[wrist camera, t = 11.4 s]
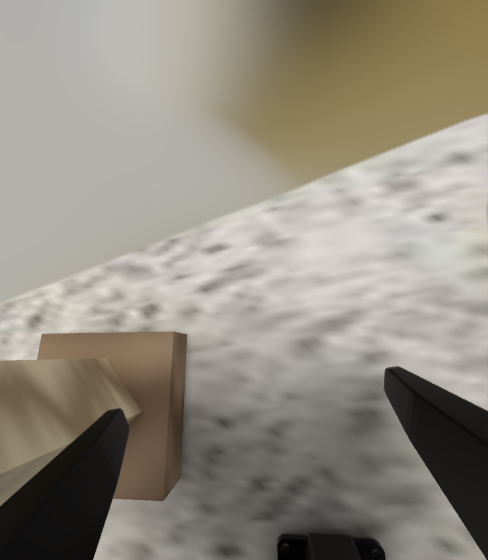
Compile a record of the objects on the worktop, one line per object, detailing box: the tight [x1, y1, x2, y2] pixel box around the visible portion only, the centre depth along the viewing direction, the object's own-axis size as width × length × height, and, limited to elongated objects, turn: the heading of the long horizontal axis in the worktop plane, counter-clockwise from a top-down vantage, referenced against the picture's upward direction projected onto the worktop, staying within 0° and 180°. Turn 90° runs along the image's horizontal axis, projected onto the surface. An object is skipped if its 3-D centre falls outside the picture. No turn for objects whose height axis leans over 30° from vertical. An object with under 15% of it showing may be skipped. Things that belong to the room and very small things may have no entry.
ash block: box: [0, 358, 142, 506], centre depth 12 cm, size 4×6×12 cm
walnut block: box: [37, 332, 187, 501], centre depth 19 cm, size 10×10×4 cm
